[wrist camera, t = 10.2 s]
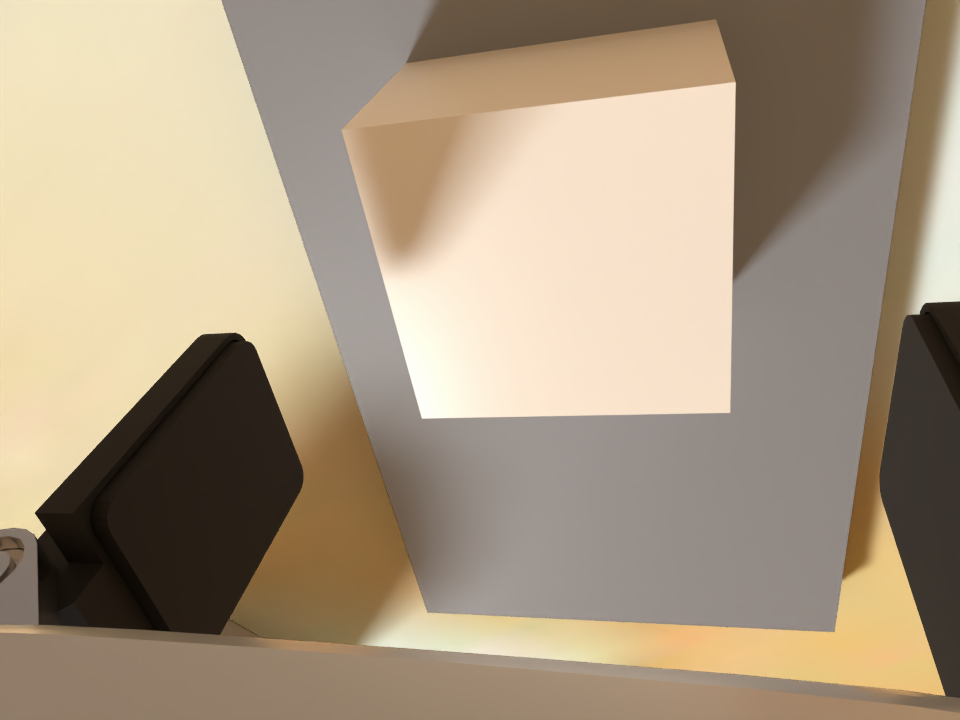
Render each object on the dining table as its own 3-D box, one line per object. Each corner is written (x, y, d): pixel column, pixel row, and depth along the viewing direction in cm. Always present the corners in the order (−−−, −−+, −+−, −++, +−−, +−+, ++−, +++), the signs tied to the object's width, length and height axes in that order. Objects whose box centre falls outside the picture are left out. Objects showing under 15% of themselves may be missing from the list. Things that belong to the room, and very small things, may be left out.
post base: (920, -155, 13) (1017, -144, 10) (825, 591, 24) (854, 720, 21) (247, -31, 16) (139, 12, 13) (437, 577, 27) (406, 687, 24)
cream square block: (716, 19, 14) (736, 81, 11) (715, 300, 17) (730, 413, 14) (405, 63, 15) (341, 129, 12) (460, 314, 19) (421, 418, 15)
